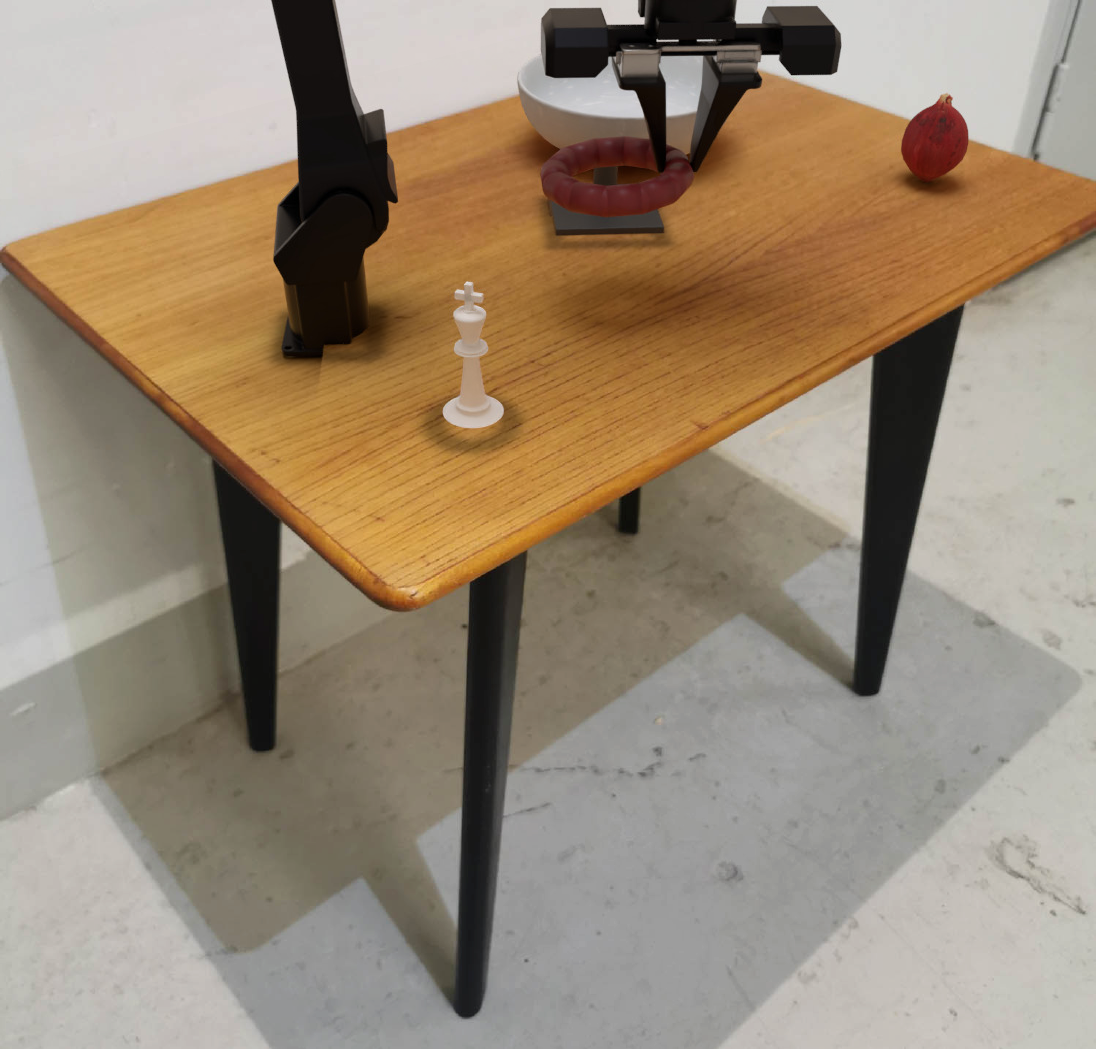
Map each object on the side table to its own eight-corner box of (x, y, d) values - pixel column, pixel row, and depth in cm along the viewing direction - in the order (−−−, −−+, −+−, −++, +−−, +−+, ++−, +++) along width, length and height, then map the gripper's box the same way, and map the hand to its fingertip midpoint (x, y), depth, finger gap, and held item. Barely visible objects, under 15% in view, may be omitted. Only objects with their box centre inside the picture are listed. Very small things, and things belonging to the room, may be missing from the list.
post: (663, 243, 94) (669, 168, 90) (555, 246, 93) (557, 170, 89) (647, 199, 101) (652, 127, 97) (547, 201, 100) (548, 128, 96)
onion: (955, 198, 102) (978, 109, 97) (890, 189, 103) (909, 101, 98) (959, 174, 106) (981, 88, 101) (896, 166, 107) (915, 80, 102)
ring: (703, 214, 74) (704, 185, 73) (546, 227, 74) (545, 198, 73) (679, 154, 82) (679, 127, 81) (537, 165, 82) (536, 138, 81)
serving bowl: (473, 142, 111) (471, 70, 106) (623, 95, 122) (627, 28, 117) (623, 209, 99) (628, 132, 95) (774, 151, 110) (784, 79, 106)
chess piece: (451, 396, 76) (444, 259, 69) (521, 409, 74) (520, 271, 68) (424, 437, 72) (414, 296, 66) (497, 450, 71) (494, 309, 64)
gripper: (817, -108, 75) (783, 126, 84) (536, -107, 74) (535, 130, 83) (863, -70, 66) (820, 186, 76) (546, -68, 65) (544, 191, 75)
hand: (676, 170), depth 78 cm, fingers closed on ring, 2 cm apart
